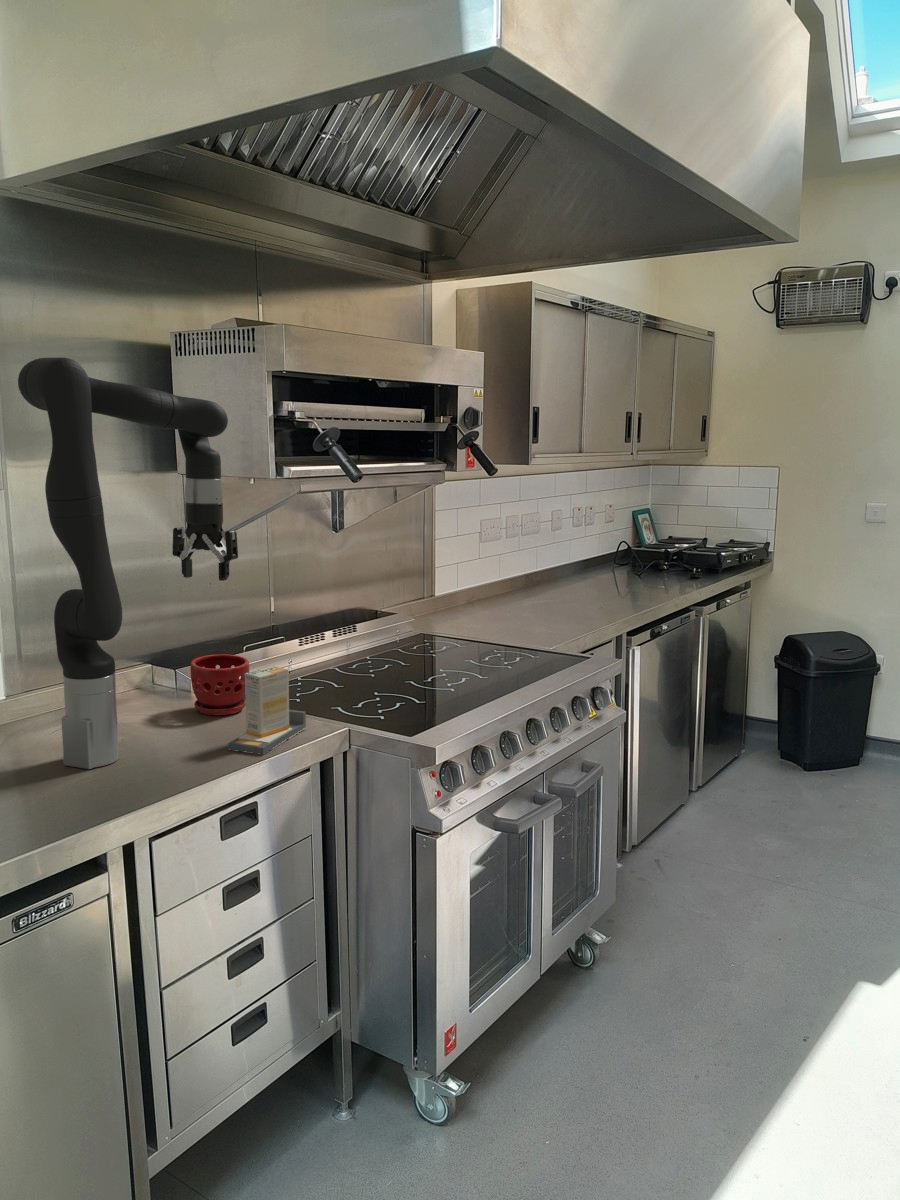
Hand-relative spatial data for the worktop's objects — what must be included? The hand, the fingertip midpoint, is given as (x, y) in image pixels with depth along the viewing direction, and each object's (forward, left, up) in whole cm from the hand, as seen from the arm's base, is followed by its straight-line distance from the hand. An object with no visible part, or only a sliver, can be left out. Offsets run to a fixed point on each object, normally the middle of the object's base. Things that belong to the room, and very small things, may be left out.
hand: (205, 578), depth 187 cm
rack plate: (0, -15, -33) cm, 36 cm away
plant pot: (+14, +6, -33) cm, 37 cm away
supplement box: (0, -14, -32) cm, 35 cm away
